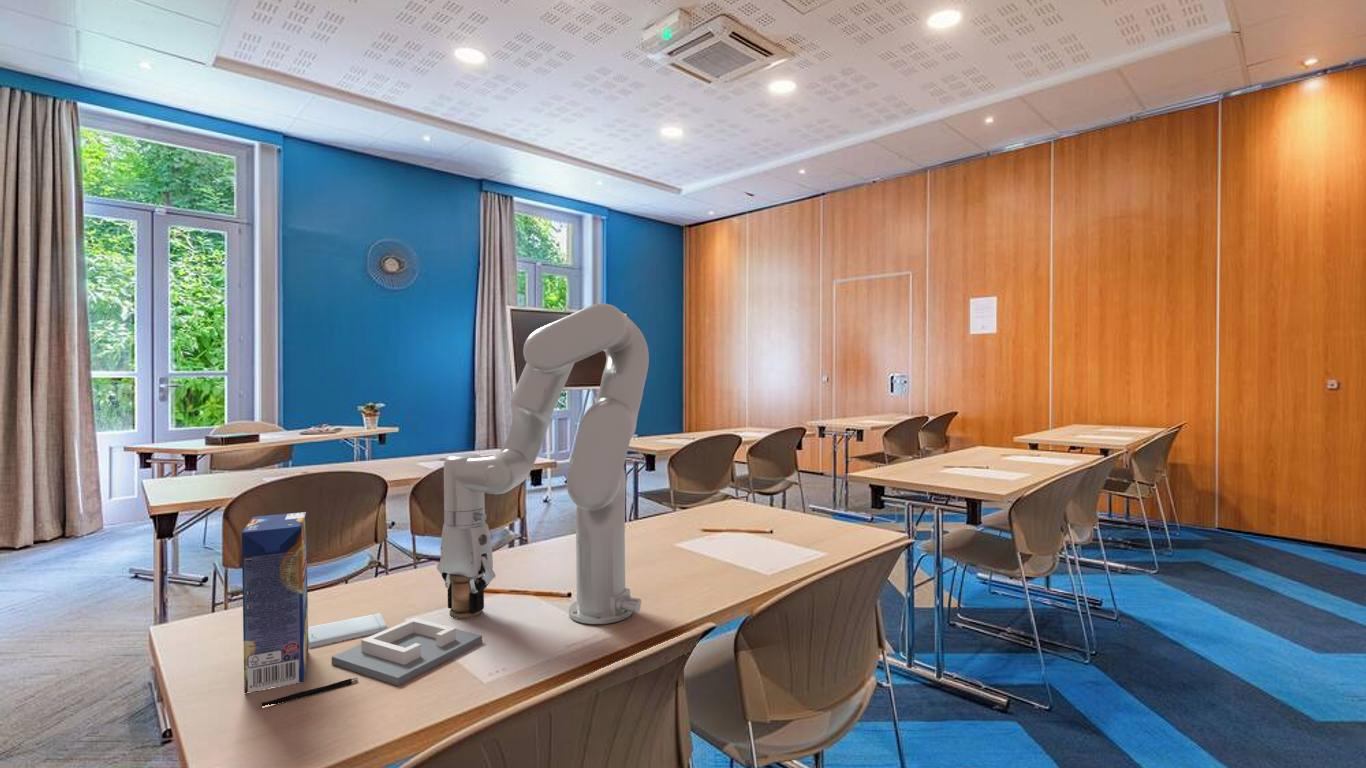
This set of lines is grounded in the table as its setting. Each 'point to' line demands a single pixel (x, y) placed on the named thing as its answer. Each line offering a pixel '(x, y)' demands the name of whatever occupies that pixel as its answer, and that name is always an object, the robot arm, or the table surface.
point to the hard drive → (345, 630)
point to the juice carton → (275, 601)
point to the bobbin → (461, 597)
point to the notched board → (406, 650)
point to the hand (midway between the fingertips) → (465, 607)
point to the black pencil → (311, 692)
